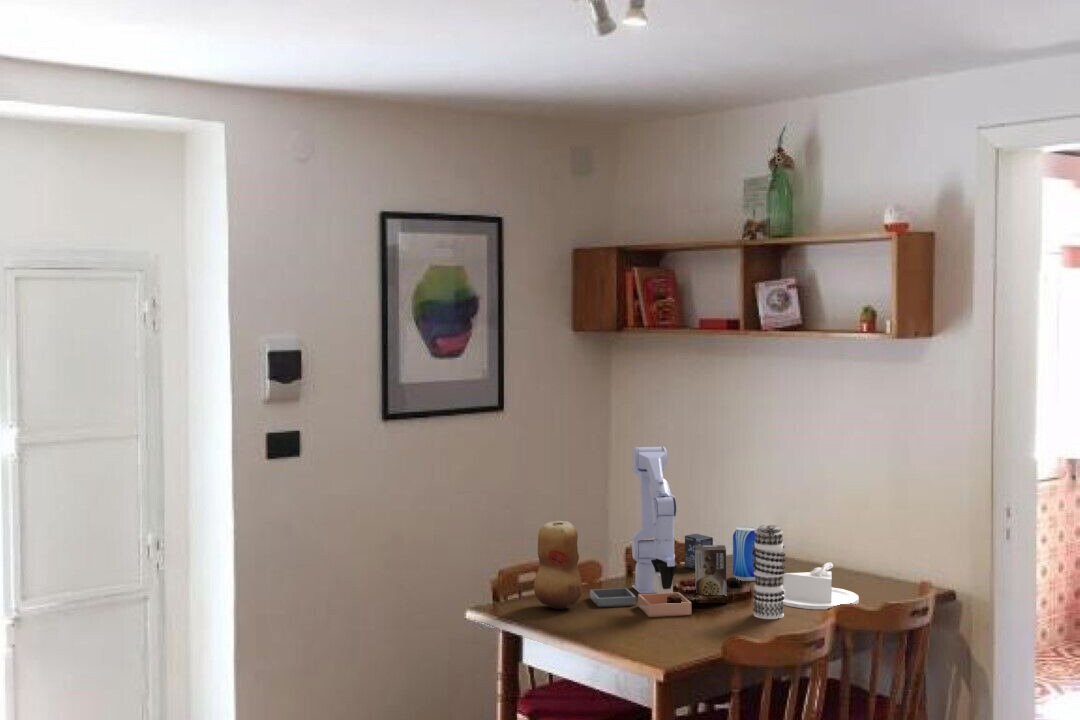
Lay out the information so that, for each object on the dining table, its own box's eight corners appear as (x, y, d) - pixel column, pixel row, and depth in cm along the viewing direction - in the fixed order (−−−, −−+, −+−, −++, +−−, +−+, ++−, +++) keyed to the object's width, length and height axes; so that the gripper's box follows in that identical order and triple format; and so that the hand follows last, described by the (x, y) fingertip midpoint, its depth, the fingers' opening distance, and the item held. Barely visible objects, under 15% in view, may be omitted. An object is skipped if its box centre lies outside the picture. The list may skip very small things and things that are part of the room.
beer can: (740, 574, 398) (740, 524, 397) (764, 577, 393) (764, 527, 392) (728, 579, 391) (728, 529, 390) (752, 582, 386) (752, 531, 386)
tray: (589, 598, 369) (589, 589, 369) (626, 596, 371) (626, 587, 371) (598, 607, 358) (598, 598, 358) (636, 605, 360) (636, 596, 360)
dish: (857, 591, 375) (857, 554, 374) (859, 612, 351) (859, 572, 350) (774, 588, 381) (774, 551, 380) (770, 608, 356) (770, 569, 356)
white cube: (653, 589, 355) (653, 572, 355) (669, 588, 356) (668, 571, 355) (657, 593, 351) (657, 575, 350) (672, 592, 351) (672, 574, 351)
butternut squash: (533, 614, 351) (532, 526, 350) (535, 602, 364) (534, 517, 363) (582, 614, 350) (581, 526, 349) (582, 602, 364) (582, 517, 362)
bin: (638, 606, 359) (638, 594, 358) (679, 604, 361) (679, 592, 360) (649, 617, 347) (649, 604, 346) (691, 614, 349) (691, 602, 348)
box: (684, 567, 410) (684, 535, 409) (697, 564, 413) (697, 533, 412) (700, 571, 403) (700, 539, 403) (713, 569, 407) (713, 536, 406)
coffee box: (725, 599, 366) (725, 544, 365) (727, 604, 360) (727, 549, 359) (694, 598, 367) (694, 544, 366) (695, 604, 361) (695, 548, 360)
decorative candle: (749, 611, 352) (749, 523, 351) (782, 611, 352) (782, 523, 351) (754, 619, 343) (754, 529, 342) (788, 619, 343) (788, 529, 341)
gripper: (643, 534, 359) (644, 581, 360) (657, 544, 345) (657, 593, 345) (667, 533, 360) (667, 580, 361) (681, 543, 346) (682, 591, 347)
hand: (664, 586), depth 353 cm, fingers closed on white cube, 5 cm apart
